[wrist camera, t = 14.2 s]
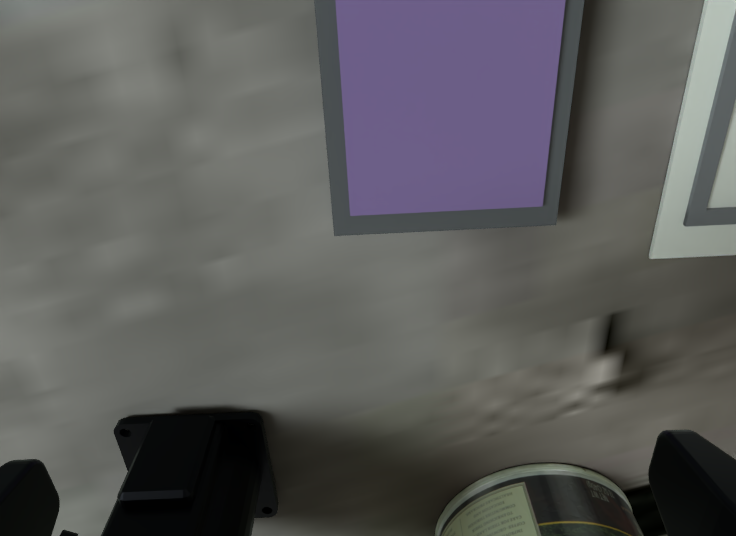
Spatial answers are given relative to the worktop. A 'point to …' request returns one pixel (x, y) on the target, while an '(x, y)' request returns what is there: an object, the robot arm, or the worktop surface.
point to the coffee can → (540, 505)
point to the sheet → (703, 148)
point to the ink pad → (446, 111)
